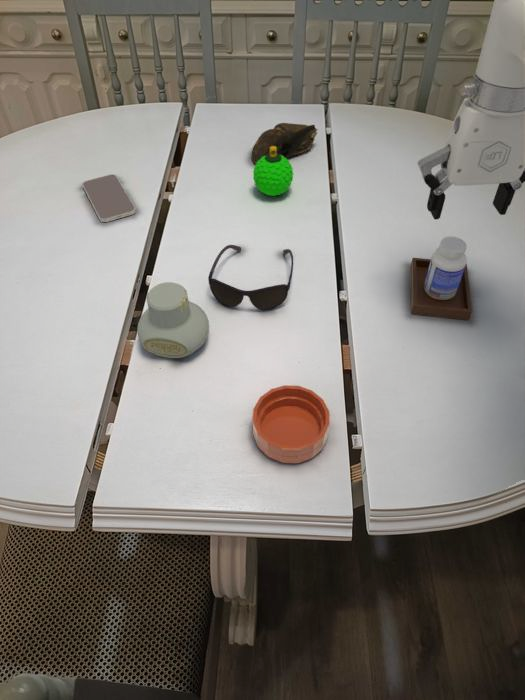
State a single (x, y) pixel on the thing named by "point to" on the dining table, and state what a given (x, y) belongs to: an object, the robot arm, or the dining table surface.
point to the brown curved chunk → (284, 140)
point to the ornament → (273, 173)
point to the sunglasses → (259, 298)
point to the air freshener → (172, 322)
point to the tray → (432, 307)
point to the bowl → (290, 424)
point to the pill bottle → (446, 269)
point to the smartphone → (108, 198)
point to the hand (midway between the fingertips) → (466, 211)
